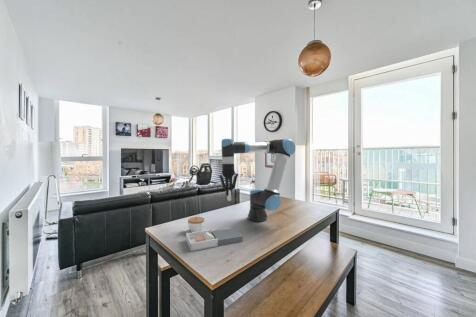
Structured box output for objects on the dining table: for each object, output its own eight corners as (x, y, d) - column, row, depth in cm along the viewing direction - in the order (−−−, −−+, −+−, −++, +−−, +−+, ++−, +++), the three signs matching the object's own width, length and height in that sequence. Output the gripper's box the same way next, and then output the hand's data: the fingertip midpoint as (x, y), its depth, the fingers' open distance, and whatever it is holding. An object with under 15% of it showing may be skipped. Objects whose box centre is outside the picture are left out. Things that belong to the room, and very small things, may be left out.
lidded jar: (207, 229, 134) (207, 215, 134) (196, 235, 125) (196, 220, 125) (195, 226, 140) (195, 213, 139) (184, 232, 130) (184, 217, 130)
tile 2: (210, 238, 119) (212, 234, 120) (212, 242, 114) (214, 238, 115) (203, 235, 117) (205, 231, 118) (205, 238, 113) (207, 234, 113)
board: (233, 232, 130) (233, 227, 130) (242, 241, 117) (242, 236, 117) (211, 236, 124) (211, 231, 124) (218, 245, 111) (218, 240, 111)
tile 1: (195, 236, 116) (195, 241, 116) (196, 240, 111) (196, 244, 111) (203, 235, 118) (203, 239, 118) (205, 238, 113) (205, 243, 113)
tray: (210, 235, 124) (210, 229, 124) (217, 246, 110) (217, 239, 110) (186, 239, 118) (186, 233, 118) (190, 251, 105) (190, 243, 104)
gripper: (235, 162, 132) (236, 197, 133) (216, 163, 127) (217, 200, 128) (240, 163, 126) (241, 200, 127) (220, 164, 120) (221, 203, 121)
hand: (229, 200), depth 127 cm, fingers closed
